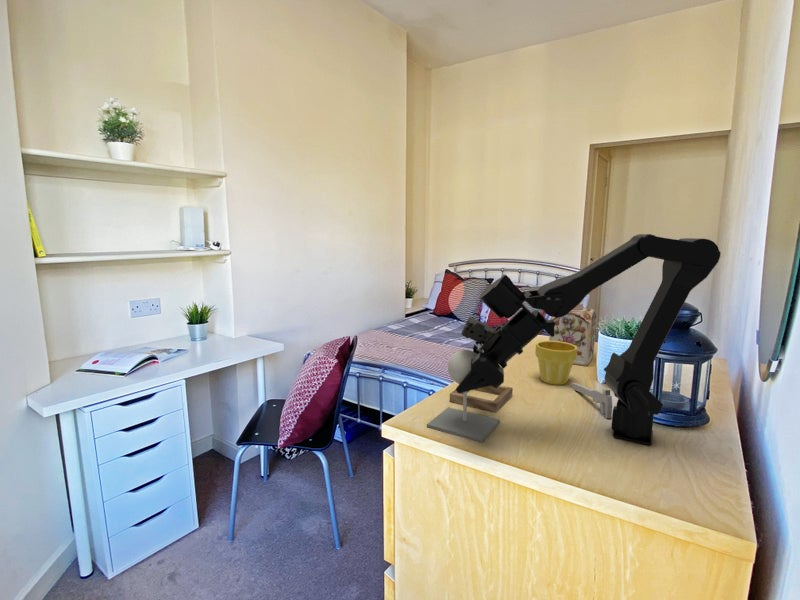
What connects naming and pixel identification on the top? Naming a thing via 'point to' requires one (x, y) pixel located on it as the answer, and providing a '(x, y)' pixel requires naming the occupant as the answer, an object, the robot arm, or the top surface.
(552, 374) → the plant pot
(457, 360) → the lollipop
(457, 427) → the mat
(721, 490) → the top surface
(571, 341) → the decorative jar
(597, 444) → the top surface
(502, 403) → the brown wooden square frame
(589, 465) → the top surface
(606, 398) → the caliper
